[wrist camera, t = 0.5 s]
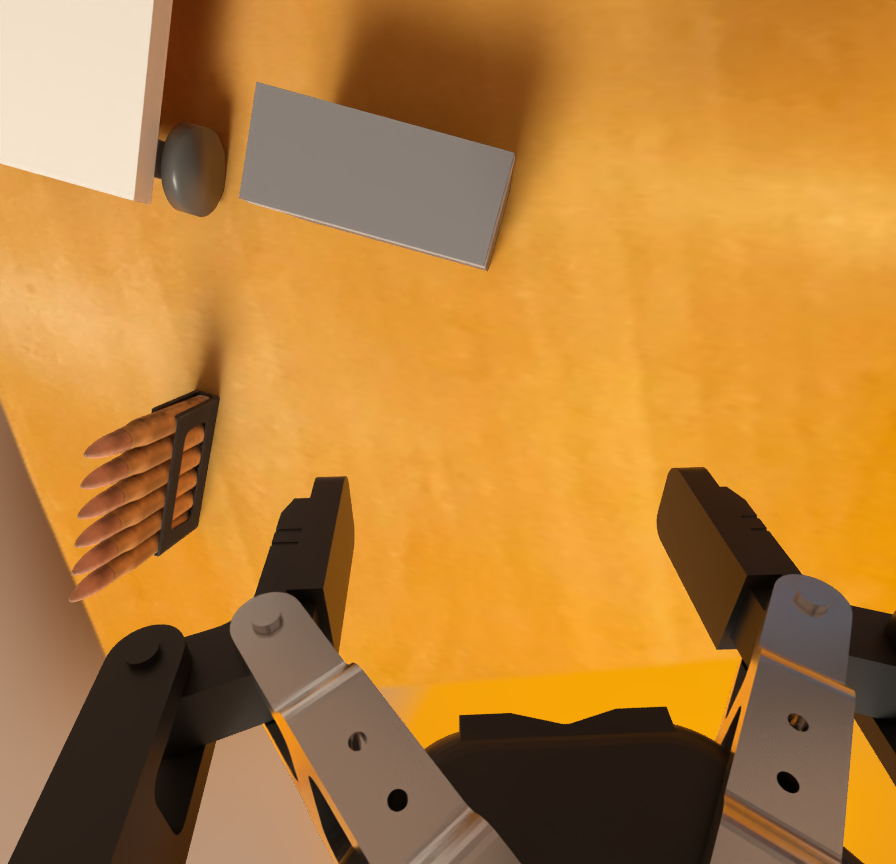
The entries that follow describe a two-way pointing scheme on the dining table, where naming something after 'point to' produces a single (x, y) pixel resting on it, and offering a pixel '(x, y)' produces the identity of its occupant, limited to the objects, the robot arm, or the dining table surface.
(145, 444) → the ammunition clip
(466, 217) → the grey lidded box
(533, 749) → the robot arm
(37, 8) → the trolley
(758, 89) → the dining table surface
